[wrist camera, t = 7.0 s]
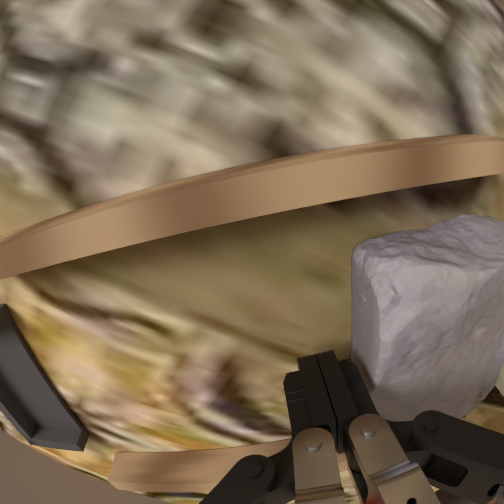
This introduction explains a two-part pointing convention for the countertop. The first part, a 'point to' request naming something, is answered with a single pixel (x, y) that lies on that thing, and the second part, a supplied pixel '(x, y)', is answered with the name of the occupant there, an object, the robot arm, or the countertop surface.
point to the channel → (230, 210)
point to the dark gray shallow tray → (33, 395)
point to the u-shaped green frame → (501, 381)
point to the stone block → (430, 316)
